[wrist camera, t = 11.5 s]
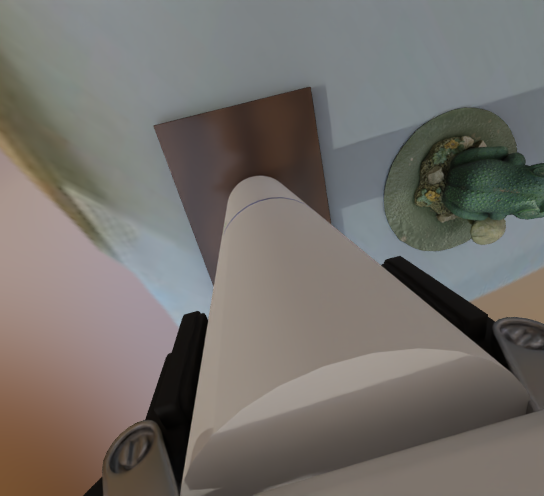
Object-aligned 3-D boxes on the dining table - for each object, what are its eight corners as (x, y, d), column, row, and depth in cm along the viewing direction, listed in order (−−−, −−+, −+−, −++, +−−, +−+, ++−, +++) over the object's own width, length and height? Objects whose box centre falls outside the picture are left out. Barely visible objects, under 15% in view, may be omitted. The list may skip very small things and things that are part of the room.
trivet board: (306, 89, 27) (310, 86, 26) (334, 264, 35) (338, 268, 34) (157, 126, 27) (153, 125, 25) (219, 295, 35) (219, 301, 33)
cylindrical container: (305, 202, 29) (591, 438, 6) (265, 251, 30) (360, 595, 7) (253, 161, 26) (375, 262, 3) (213, 215, 28) (102, 551, 5)
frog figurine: (486, 251, 37) (587, 292, 27) (371, 250, 35) (430, 295, 24) (539, 114, 31) (697, 97, 20) (402, 101, 29) (501, 74, 18)
